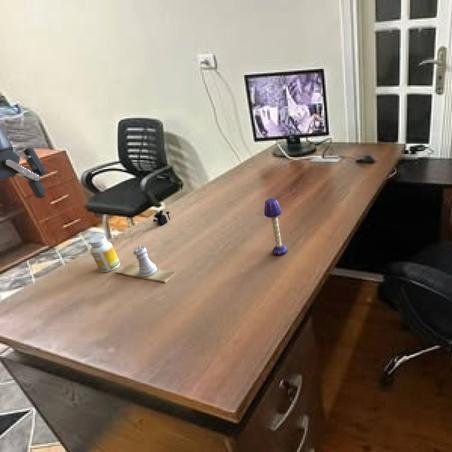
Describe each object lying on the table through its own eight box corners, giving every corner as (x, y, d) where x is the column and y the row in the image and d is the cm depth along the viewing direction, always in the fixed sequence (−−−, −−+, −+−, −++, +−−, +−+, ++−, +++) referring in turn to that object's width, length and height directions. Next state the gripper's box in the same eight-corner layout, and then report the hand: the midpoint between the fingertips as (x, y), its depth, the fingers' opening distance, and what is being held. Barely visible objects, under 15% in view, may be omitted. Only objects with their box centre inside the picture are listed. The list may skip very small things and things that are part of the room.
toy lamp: (291, 250, 101) (282, 197, 93) (281, 258, 98) (271, 205, 89) (279, 246, 103) (269, 195, 95) (268, 254, 100) (257, 202, 92)
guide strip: (115, 273, 98) (115, 271, 98) (127, 265, 101) (126, 263, 101) (165, 283, 92) (164, 281, 92) (176, 274, 95) (175, 272, 95)
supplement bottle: (99, 275, 98) (84, 246, 94) (101, 265, 103) (86, 237, 98) (120, 268, 100) (106, 240, 95) (121, 259, 104) (108, 232, 100)
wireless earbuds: (157, 229, 120) (152, 216, 117) (152, 228, 121) (147, 215, 118) (173, 219, 125) (168, 207, 123) (168, 219, 126) (163, 206, 124)
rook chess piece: (147, 279, 93) (136, 254, 89) (136, 275, 95) (125, 250, 92) (161, 270, 97) (151, 245, 93) (151, 266, 99) (141, 242, 95)
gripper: (3, 118, 72) (42, 191, 79) (-88, 138, 60) (-31, 220, 68) (27, 118, 69) (65, 193, 77) (-63, 138, 58) (-8, 224, 65)
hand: (20, 206), depth 72 cm, fingers open, 8 cm apart
